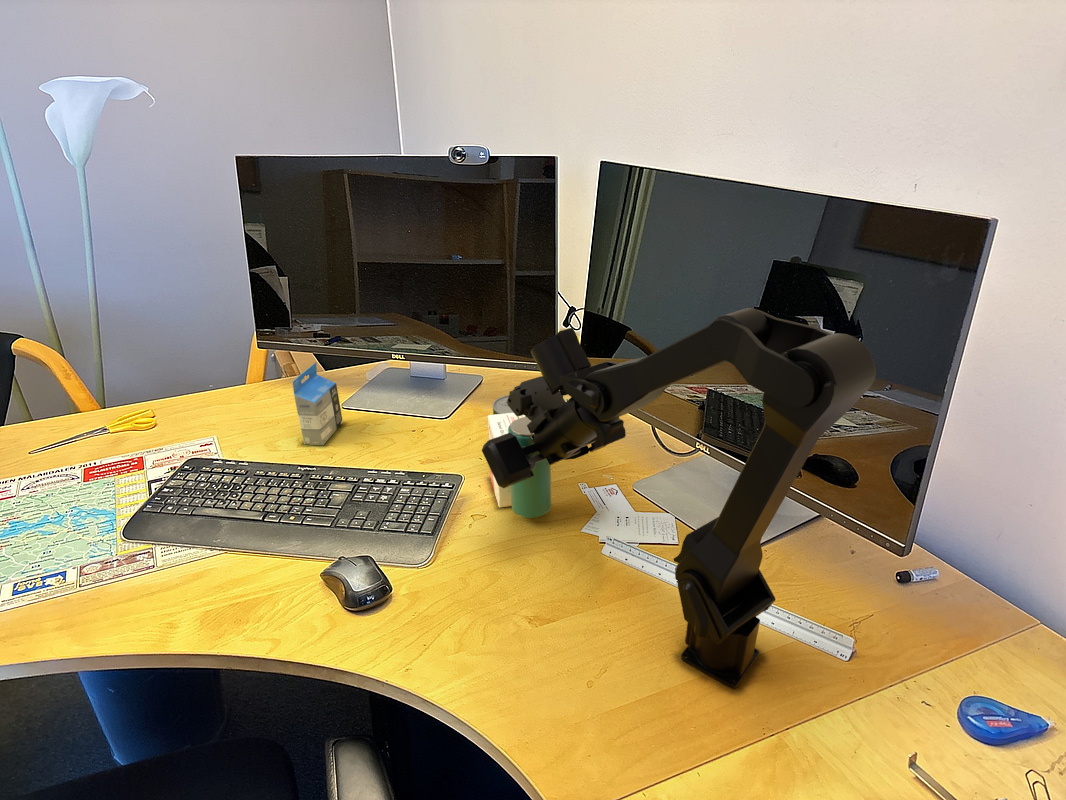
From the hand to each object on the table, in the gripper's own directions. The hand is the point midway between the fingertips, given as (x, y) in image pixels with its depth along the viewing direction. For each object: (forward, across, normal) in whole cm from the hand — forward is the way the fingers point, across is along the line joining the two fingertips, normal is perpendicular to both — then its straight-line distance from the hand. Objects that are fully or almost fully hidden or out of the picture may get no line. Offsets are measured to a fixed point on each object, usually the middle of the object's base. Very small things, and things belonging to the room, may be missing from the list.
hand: (524, 464), depth 97 cm
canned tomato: (+14, -8, -2) cm, 16 cm away
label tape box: (+36, +14, -24) cm, 45 cm away
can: (+4, 0, +6) cm, 7 cm away
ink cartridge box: (+10, -1, +2) cm, 10 cm away
